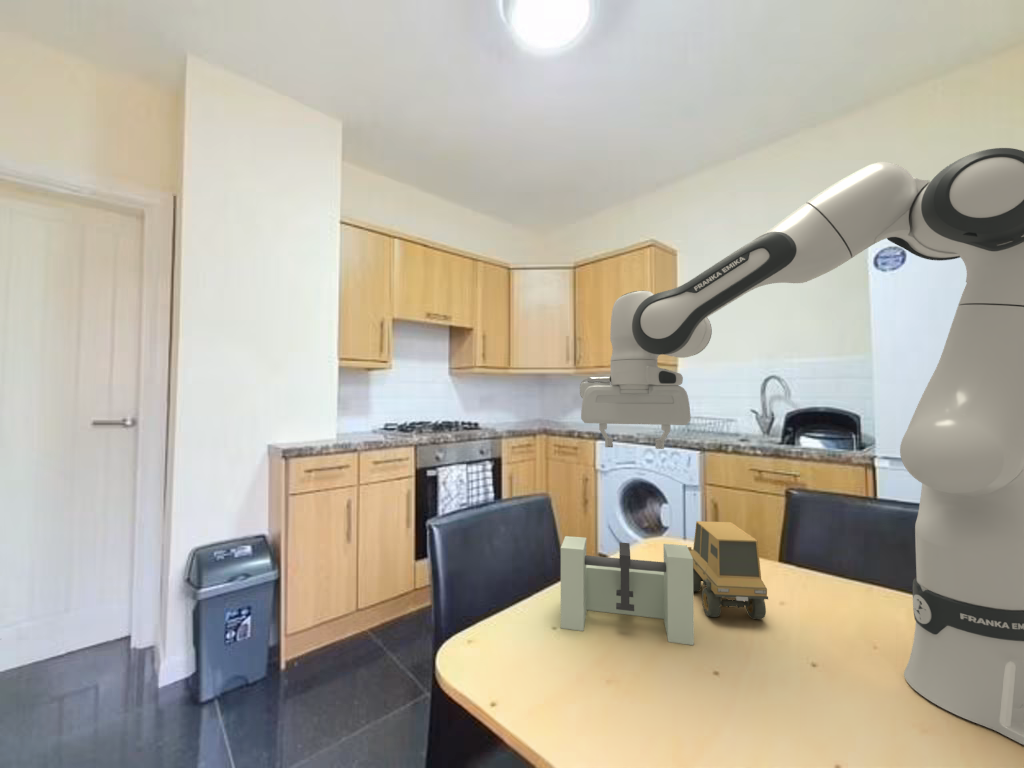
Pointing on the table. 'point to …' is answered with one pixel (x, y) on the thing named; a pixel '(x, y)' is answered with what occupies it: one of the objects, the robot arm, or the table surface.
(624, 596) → the dark grey flanged post
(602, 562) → the lever switch frame
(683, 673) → the table surface
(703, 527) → the toy car
